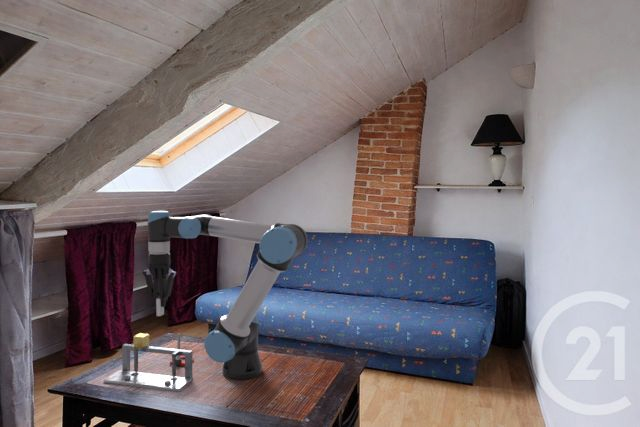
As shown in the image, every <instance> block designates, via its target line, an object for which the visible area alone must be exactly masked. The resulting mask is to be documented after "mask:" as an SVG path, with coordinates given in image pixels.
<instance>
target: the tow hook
mask: <svg viewBox="0 0 640 427" xmlns="http://www.w3.org/2000/svg"><path fill="white" fill-rule="evenodd" d="M176 344H177V345H176V349H181V333H178V334H177V340H176ZM182 360H185V356H180V355H178V356H177V357H176V367H185V361H183V362H182ZM194 361H195V360H194V357H192V363H193V362H194ZM169 365H170V366H172V360H171V361H170V362H169Z"/></svg>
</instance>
